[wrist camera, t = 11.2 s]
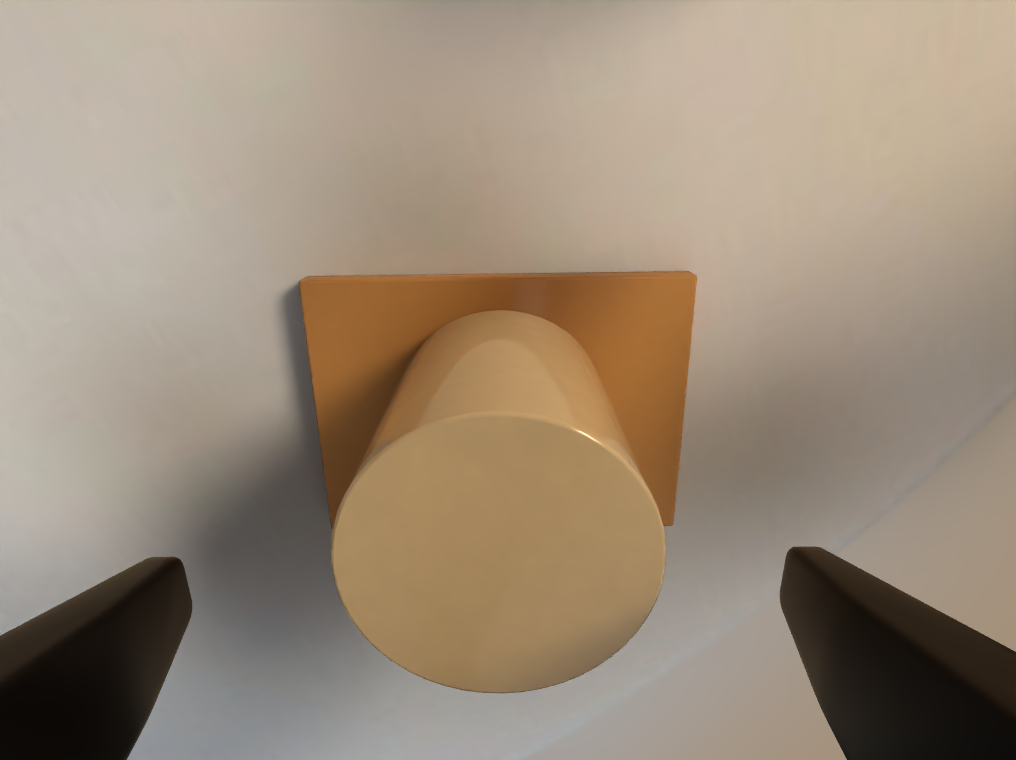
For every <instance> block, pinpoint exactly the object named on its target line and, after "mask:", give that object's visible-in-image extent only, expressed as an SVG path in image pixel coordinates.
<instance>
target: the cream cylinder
mask: <svg viewBox="0 0 1016 760" xmlns="http://www.w3.org/2000/svg"><path fill="white" fill-rule="evenodd" d="M331 565H332V571H333V576H334V580H335V585H336V588H337V591H338V593H339V596H340V599H341V601H342V604H343V606H344V608H345V609H346V611H347V613H348V615H349V617H350V618H351V620H352V621H353V623H354V624H355V625H356V627H357V628H358V629H359V631H360V632H361V633H362V635H363V636H364V637H365V638H366V639H367V640H368V641H369V642H370V643H371V644H372V645H373V646H374V647H375V648H376V649H377V650H378V651H380V652H381V653H382V654H383V655H385V656H386V657H387V658H388V659H390V660H391V661H393V662H394V663H396V664H397V665H399V666H401V667H402V668H404V669H405V670H407V671H409V672H411V673H413V674H416V675H418V676H420V677H422V678H424V679H427V680H429V681H432V682H435V683H438V684H441V685H444V686H448V687H452V688H456V689H460V690H466V691H474V692H481V693H514V692H525V691H531V690H537V689H542V688H546V687H549V686H553V685H557V684H560V683H563V682H565V681H568V680H571V679H573V678H576V677H578V676H580V675H582V674H584V673H586V672H588V671H590V670H592V669H594V668H596V667H597V666H598V665H600V664H601V663H603V662H604V661H606V660H607V659H609V658H610V657H612V656H613V655H614V654H615V653H616V652H618V651H619V650H620V649H621V648H622V647H623V646H625V645H626V644H627V642H628V641H629V640H630V639H631V638H632V637H633V636H634V635H635V634H636V632H637V631H638V630H639V629H640V627H641V626H642V624H643V623H644V621H645V620H646V619H647V617H648V616H649V614H650V612H651V610H652V608H653V606H654V604H655V602H656V600H657V597H658V594H659V591H660V588H661V585H662V582H663V576H664V570H665V565H666V539H665V532H664V525H663V522H662V519H661V516H660V512H659V509H658V506H657V504H656V502H655V499H654V497H653V495H652V493H651V490H650V488H649V486H648V484H647V481H646V479H645V477H644V475H643V472H642V470H641V468H640V466H639V463H638V461H637V459H636V457H635V454H634V452H633V450H632V448H631V446H630V443H629V441H628V439H627V437H626V434H625V432H624V430H623V428H622V425H621V423H620V421H619V419H618V416H617V414H616V412H615V410H614V407H613V405H612V403H611V401H610V398H609V396H608V394H607V392H606V389H605V387H604V385H603V383H602V380H601V378H600V376H599V374H598V371H597V369H596V367H595V365H594V363H593V361H592V360H591V358H590V357H589V355H588V354H587V352H586V351H585V349H584V348H583V347H582V346H581V345H580V344H579V343H578V342H577V340H576V339H574V338H573V337H572V336H571V335H570V334H568V333H567V332H566V331H565V330H563V329H562V328H560V327H558V326H557V325H555V324H554V323H552V322H549V321H547V320H545V319H543V318H541V317H538V316H534V315H531V314H528V313H523V312H517V311H508V310H494V311H484V312H479V313H474V314H470V315H467V316H464V317H461V318H459V319H456V320H454V321H452V322H450V323H448V324H446V325H445V326H443V327H442V328H440V329H439V330H437V331H436V332H434V333H433V334H432V335H431V336H430V337H429V338H428V339H427V340H425V341H424V342H423V343H422V345H421V346H420V347H419V348H418V349H417V351H416V352H415V353H414V355H413V356H412V358H411V360H410V361H409V363H408V365H407V367H406V369H405V371H404V373H403V375H402V377H401V379H400V381H399V383H398V385H397V387H396V389H395V392H394V394H393V396H392V398H391V400H390V402H389V404H388V406H387V408H386V410H385V412H384V414H383V416H382V418H381V420H380V423H379V425H378V427H377V429H376V431H375V433H374V435H373V437H372V439H371V441H370V443H369V445H368V447H367V449H366V451H365V453H364V456H363V458H362V460H361V462H360V464H359V466H358V468H357V470H356V472H355V474H354V476H353V478H352V480H351V482H350V484H349V487H348V489H347V491H346V493H345V495H344V497H343V499H342V502H341V504H340V506H339V509H338V511H337V514H336V518H335V522H334V526H333V530H332V539H331Z"/></svg>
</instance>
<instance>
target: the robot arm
mask: <svg viewBox="0 0 1016 760" xmlns="http://www.w3.org/2000/svg"><path fill="white" fill-rule="evenodd" d="M780 603H781V607H782V610H783V613H784V616H785V618H786V621H787V623H788V626H789V629H790V631H791V634H792V636H793V639H794V641H795V644H796V646H797V649H798V651H799V654H800V657H801V659H802V662H803V664H804V667H805V669H806V672H807V674H808V677H809V680H810V682H811V685H812V687H813V690H814V692H815V695H816V697H817V700H818V702H819V704H820V707H821V709H822V711H823V713H824V715H825V717H826V719H827V721H828V723H829V725H830V727H831V729H832V731H833V733H834V735H835V737H836V739H837V741H838V743H839V745H840V747H841V749H842V751H843V753H844V755H845V757H846V758H847V760H1016V652H1015V651H1013V650H1011V649H1009V648H1007V647H1006V646H1004V645H1002V644H1000V643H998V642H996V641H994V640H992V639H991V638H989V637H987V636H985V635H983V634H981V633H979V632H978V631H976V630H974V629H972V628H970V627H968V626H966V625H964V624H962V623H961V622H959V621H957V620H955V619H953V618H951V617H949V616H947V615H946V614H944V613H942V612H940V611H938V610H936V609H934V608H933V607H931V606H929V605H927V604H925V603H923V602H921V601H920V600H918V599H916V598H914V597H912V596H910V595H908V594H906V593H905V592H903V591H901V590H899V589H897V588H895V587H893V586H891V585H890V584H888V583H886V582H884V581H882V580H880V579H878V578H877V577H875V576H873V575H871V574H869V573H867V572H865V571H863V570H862V569H859V568H858V567H856V566H854V565H852V564H850V563H849V562H847V561H845V560H843V559H841V558H839V557H837V556H835V555H834V554H832V553H830V552H828V551H826V550H824V549H822V548H820V547H792V548H791V549H790V550H789V551H788V552H787V555H786V559H785V565H784V571H783V577H782V582H781V588H780ZM191 614H192V599H191V594H190V590H189V586H188V582H187V578H186V573H185V569H184V566H183V563H182V562H181V560H180V559H178V558H176V557H152V558H148V559H145V560H144V561H142V562H140V563H138V564H136V565H134V566H132V567H130V568H128V569H126V570H124V571H123V572H121V573H119V574H117V575H115V576H113V577H111V578H109V579H107V580H105V581H104V582H102V583H100V584H98V585H96V586H94V587H92V588H90V589H88V590H86V591H84V592H83V593H81V594H79V595H77V596H75V597H73V598H71V599H69V600H67V601H65V602H64V603H62V604H60V605H58V606H56V607H54V608H52V609H50V610H48V611H46V612H44V613H43V614H41V615H39V616H37V617H35V618H33V619H31V620H29V621H27V622H25V623H23V624H22V625H20V626H18V627H16V628H14V629H12V630H10V631H8V632H6V633H4V634H3V635H1V636H0V760H127V758H128V756H129V754H130V753H131V751H132V749H133V747H134V745H135V743H136V741H137V739H138V738H139V736H140V734H141V732H142V730H143V728H144V726H145V724H146V722H147V720H148V718H149V716H150V713H151V711H152V709H153V707H154V705H155V702H156V700H157V698H158V695H159V693H160V690H161V688H162V686H163V683H164V681H165V678H166V676H167V674H168V671H169V669H170V666H171V664H172V662H173V659H174V657H175V654H176V652H177V650H178V647H179V645H180V643H181V640H182V638H183V635H184V633H185V631H186V628H187V626H188V623H189V621H190V618H191Z"/></svg>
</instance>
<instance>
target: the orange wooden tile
mask: <svg viewBox="0 0 1016 760" xmlns="http://www.w3.org/2000/svg"><path fill="white" fill-rule="evenodd" d="M696 282H697V276H696V275H694V274H693V273H691V272H689V271H667V272H592V273H517V274H441V275H366V276H307V277H305V278H303V279H302V280H300V281H299V288H300V296H301V303H302V311H303V318H304V326H305V333H306V341H307V348H308V356H309V363H310V371H311V378H312V386H313V393H314V401H315V409H316V416H317V424H318V431H319V439H320V446H321V454H322V461H323V469H324V476H325V484H326V491H327V499H328V506H329V514H330V521H331V528H332V530H333V526H334V522H335V518H336V514H337V511H338V509H339V506H340V504H341V502H342V499H343V497H344V495H345V493H346V491H347V489H348V487H349V484H350V482H351V480H352V478H353V476H354V474H355V472H356V470H357V468H358V466H359V464H360V462H361V460H362V458H363V456H364V453H365V451H366V449H367V447H368V445H369V443H370V441H371V439H372V437H373V435H374V433H375V431H376V429H377V427H378V425H379V423H380V420H381V418H382V416H383V414H384V412H385V410H386V408H387V406H388V404H389V402H390V400H391V398H392V396H393V394H394V392H395V389H396V387H397V385H398V383H399V381H400V379H401V377H402V375H403V373H404V371H405V369H406V367H407V365H408V363H409V361H410V360H411V358H412V356H413V355H414V353H415V352H416V351H417V349H418V348H419V347H420V346H421V345H422V343H423V342H424V341H425V340H427V339H428V338H429V337H430V336H431V335H432V334H433V333H434V332H436V331H437V330H439V329H440V328H442V327H443V326H445V325H446V324H448V323H450V322H452V321H454V320H456V319H459V318H461V317H464V316H467V315H470V314H474V313H479V312H484V311H494V310H508V311H517V312H523V313H528V314H531V315H534V316H538V317H541V318H543V319H545V320H547V321H549V322H552V323H554V324H555V325H557V326H558V327H560V328H562V329H563V330H565V331H566V332H567V333H568V334H570V335H571V336H572V337H573V338H574V339H576V340H577V342H578V343H579V344H580V345H581V346H582V347H583V348H584V349H585V351H586V352H587V354H588V355H589V357H590V358H591V360H592V361H593V363H594V365H595V367H596V369H597V371H598V374H599V376H600V378H601V380H602V383H603V385H604V387H605V389H606V392H607V394H608V396H609V398H610V401H611V403H612V405H613V407H614V410H615V412H616V414H617V416H618V419H619V421H620V423H621V425H622V428H623V430H624V432H625V434H626V437H627V439H628V441H629V443H630V446H631V448H632V450H633V452H634V454H635V457H636V459H637V461H638V463H639V466H640V468H641V470H642V472H643V475H644V477H645V479H646V481H647V484H648V486H649V488H650V490H651V493H652V495H653V497H654V499H655V502H656V504H657V506H658V509H659V512H660V516H661V519H662V522H663V525H664V526H672V525H673V522H674V511H675V501H676V491H677V480H678V470H679V459H680V449H681V439H682V428H683V418H684V407H685V397H686V386H687V376H688V366H689V355H690V345H691V334H692V324H693V314H694V303H695V293H696Z"/></svg>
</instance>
